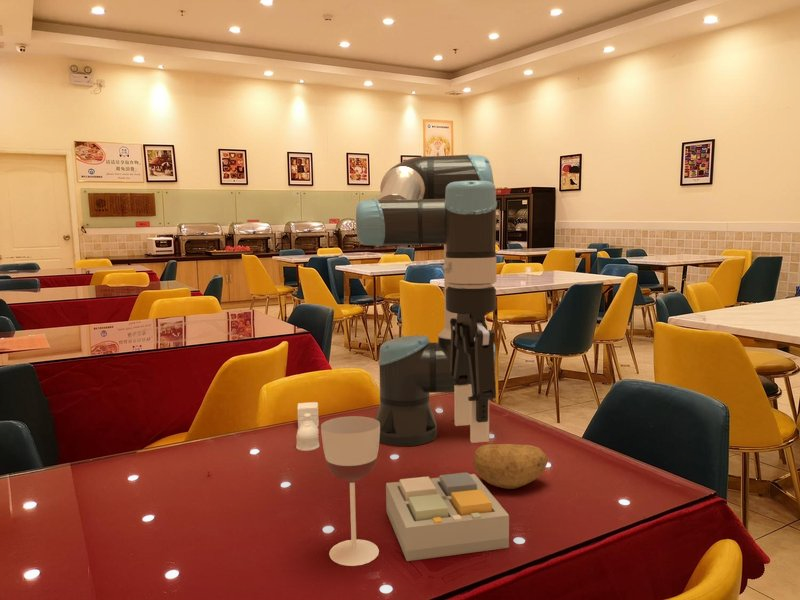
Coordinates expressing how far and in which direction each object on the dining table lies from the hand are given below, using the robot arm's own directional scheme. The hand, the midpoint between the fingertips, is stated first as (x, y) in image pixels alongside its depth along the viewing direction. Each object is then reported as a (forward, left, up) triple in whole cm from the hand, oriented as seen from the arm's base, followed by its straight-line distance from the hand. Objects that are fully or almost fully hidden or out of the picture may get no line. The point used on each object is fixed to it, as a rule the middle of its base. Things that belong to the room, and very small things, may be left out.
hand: (471, 432), depth 93 cm
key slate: (-7, 0, -13) cm, 15 cm away
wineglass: (0, -19, -17) cm, 25 cm away
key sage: (0, -7, -13) cm, 15 cm away
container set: (-54, -22, -18) cm, 61 cm away
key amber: (0, 0, -13) cm, 13 cm away
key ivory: (-7, -7, -13) cm, 16 cm away
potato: (-16, +13, -17) cm, 27 cm away
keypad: (-3, -4, -17) cm, 18 cm away
